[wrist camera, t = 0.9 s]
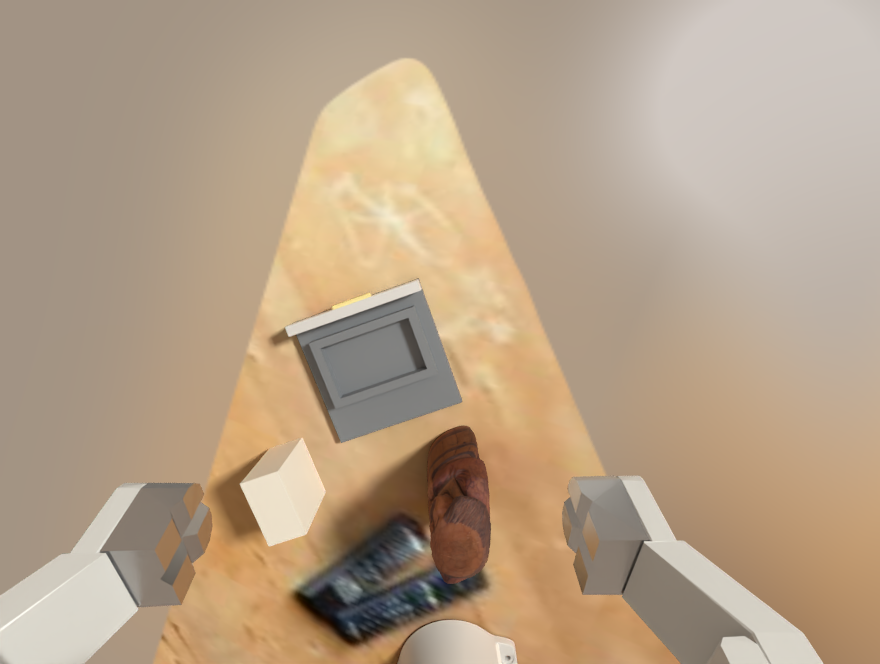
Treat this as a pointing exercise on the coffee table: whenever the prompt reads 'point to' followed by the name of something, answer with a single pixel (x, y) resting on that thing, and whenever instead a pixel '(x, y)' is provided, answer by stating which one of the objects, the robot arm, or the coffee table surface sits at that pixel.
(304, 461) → the product carton
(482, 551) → the wooden figurine
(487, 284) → the coffee table surface
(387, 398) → the display base
